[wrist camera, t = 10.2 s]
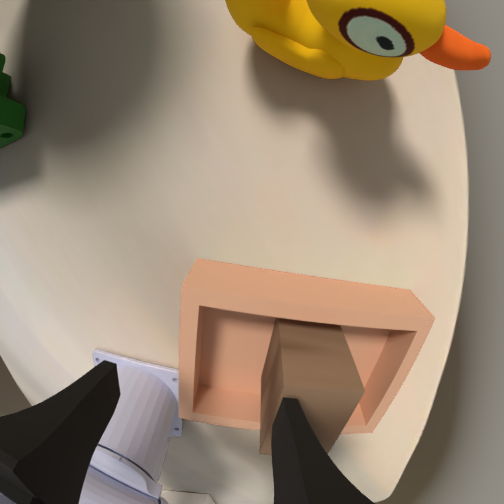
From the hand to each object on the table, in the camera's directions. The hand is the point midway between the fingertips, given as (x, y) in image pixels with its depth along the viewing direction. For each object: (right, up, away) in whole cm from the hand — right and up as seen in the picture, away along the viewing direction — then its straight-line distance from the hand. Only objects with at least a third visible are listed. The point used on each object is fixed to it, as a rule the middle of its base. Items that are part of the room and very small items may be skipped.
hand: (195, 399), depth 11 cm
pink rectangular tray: (+5, -1, +10) cm, 11 cm away
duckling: (+7, +18, +3) cm, 20 cm away
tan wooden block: (+5, -1, +8) cm, 10 cm away
